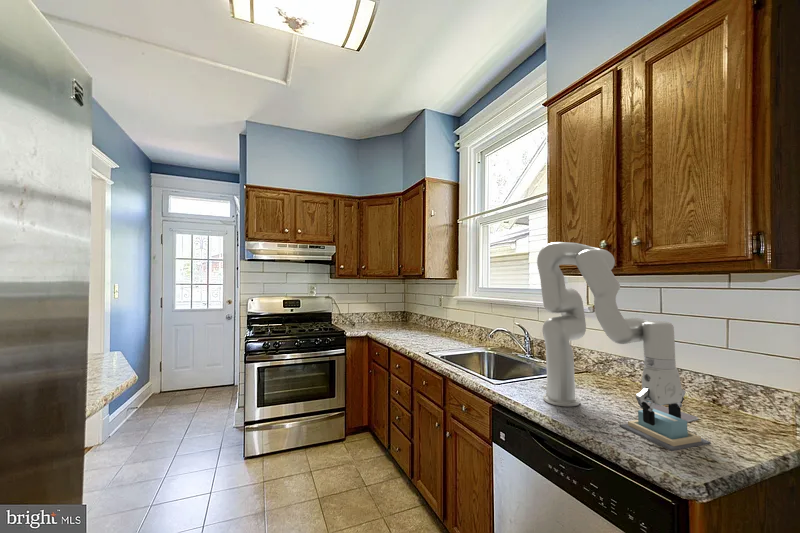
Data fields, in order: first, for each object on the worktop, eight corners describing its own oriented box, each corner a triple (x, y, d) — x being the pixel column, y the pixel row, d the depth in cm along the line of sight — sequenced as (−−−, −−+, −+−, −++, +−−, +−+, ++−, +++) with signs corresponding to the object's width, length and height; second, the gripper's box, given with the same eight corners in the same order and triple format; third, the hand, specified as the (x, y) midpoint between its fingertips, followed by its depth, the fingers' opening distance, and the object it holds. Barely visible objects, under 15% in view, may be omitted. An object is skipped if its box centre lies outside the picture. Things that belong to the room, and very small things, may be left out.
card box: (687, 438, 98) (687, 420, 98) (671, 441, 97) (671, 423, 97) (653, 424, 108) (653, 407, 108) (638, 427, 106) (637, 410, 107)
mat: (620, 426, 108) (619, 420, 108) (655, 420, 112) (655, 415, 112) (671, 451, 93) (671, 444, 93) (710, 443, 96) (710, 437, 96)
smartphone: (685, 421, 110) (638, 405, 124) (685, 424, 110) (638, 408, 124) (700, 417, 112) (651, 402, 126) (700, 420, 112) (651, 404, 126)
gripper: (648, 368, 97) (650, 430, 97) (695, 363, 101) (698, 423, 101) (624, 362, 104) (627, 420, 104) (669, 358, 109) (672, 413, 108)
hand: (662, 421), depth 102 cm, fingers open, 9 cm apart
